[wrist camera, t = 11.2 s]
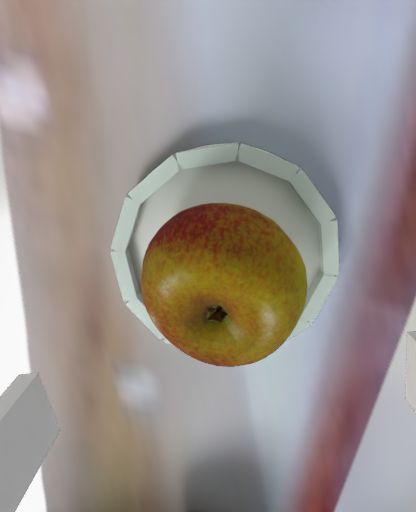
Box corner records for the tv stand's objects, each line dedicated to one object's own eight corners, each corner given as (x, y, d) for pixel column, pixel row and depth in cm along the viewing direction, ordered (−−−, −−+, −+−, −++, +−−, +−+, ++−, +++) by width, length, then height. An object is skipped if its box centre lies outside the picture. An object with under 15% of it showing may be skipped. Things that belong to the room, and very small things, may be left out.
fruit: (134, 280, 25) (94, 346, 17) (189, 165, 22) (171, 184, 14) (251, 337, 26) (261, 421, 18) (319, 234, 23) (364, 285, 15)
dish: (336, 332, 26) (343, 346, 25) (145, 353, 28) (140, 367, 26) (327, 124, 21) (335, 124, 20) (95, 163, 23) (85, 166, 21)
